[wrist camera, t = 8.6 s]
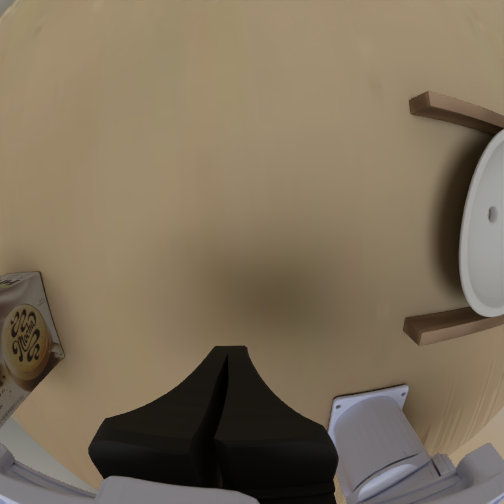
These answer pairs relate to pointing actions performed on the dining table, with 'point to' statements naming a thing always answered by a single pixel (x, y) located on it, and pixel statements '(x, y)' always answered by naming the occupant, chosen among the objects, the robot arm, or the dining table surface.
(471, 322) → the caddy
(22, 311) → the coffee box
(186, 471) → the robot arm
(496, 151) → the dish
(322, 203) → the dining table surface
